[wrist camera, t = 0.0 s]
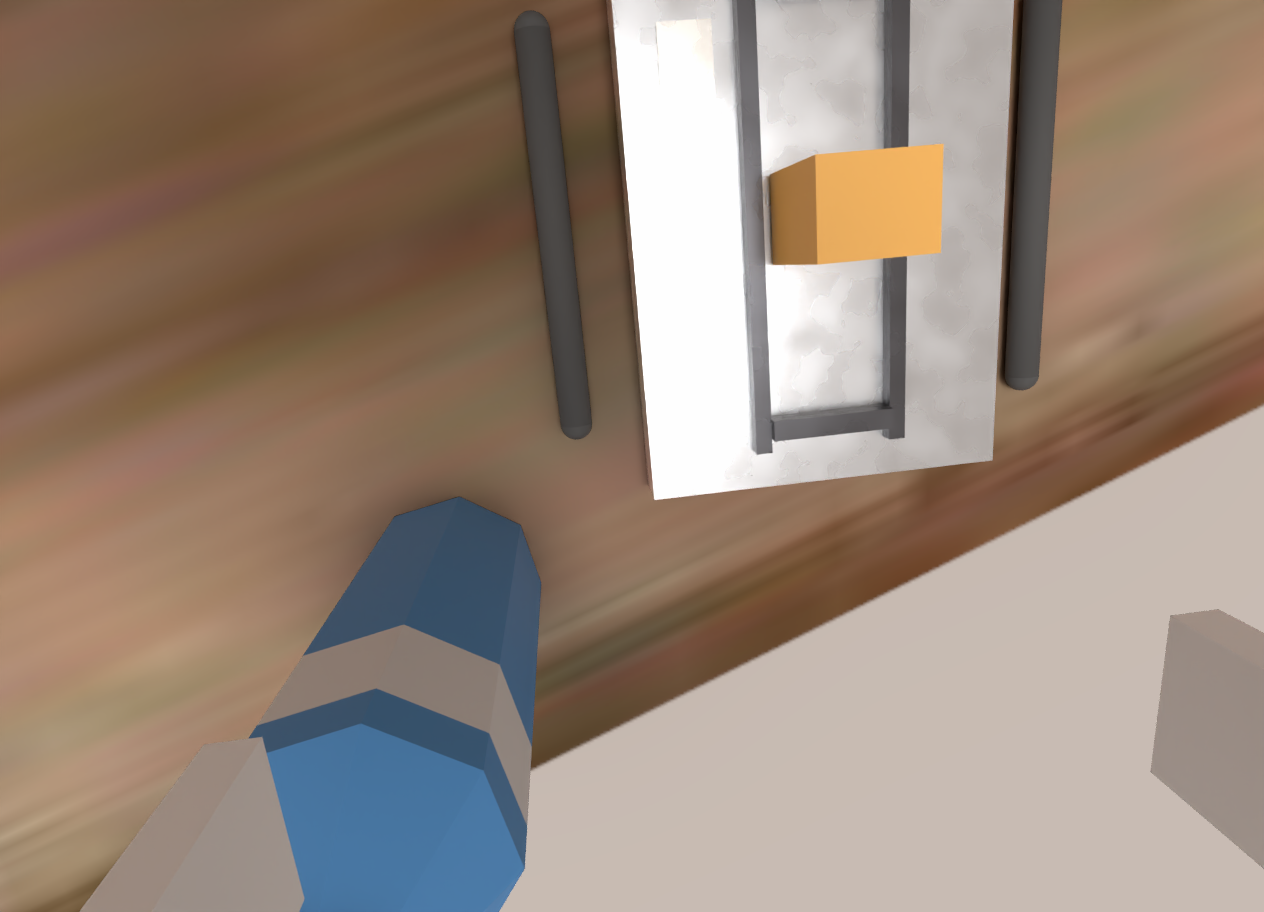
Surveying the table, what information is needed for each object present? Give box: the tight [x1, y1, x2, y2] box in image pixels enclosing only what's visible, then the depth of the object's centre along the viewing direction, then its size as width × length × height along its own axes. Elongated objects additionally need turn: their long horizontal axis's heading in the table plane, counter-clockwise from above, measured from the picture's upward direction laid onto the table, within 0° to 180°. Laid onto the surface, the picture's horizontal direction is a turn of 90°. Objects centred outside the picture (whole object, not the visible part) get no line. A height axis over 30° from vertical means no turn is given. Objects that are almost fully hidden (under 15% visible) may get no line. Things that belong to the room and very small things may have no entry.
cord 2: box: [514, 11, 592, 439], centre depth 34 cm, size 20×2×2 cm, turn 5°
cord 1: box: [1005, 0, 1062, 390], centre depth 36 cm, size 20×2×2 cm, turn 5°
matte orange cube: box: [770, 144, 944, 265], centre depth 30 cm, size 4×5×6 cm
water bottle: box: [248, 497, 541, 912], centre depth 27 cm, size 9×9×25 cm
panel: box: [606, 0, 1014, 500], centre depth 34 cm, size 26×18×4 cm
